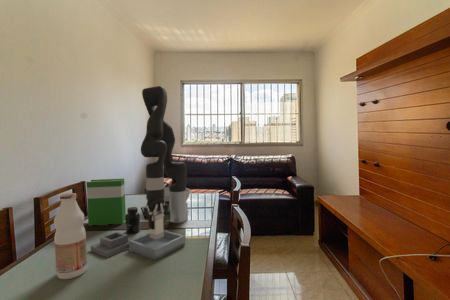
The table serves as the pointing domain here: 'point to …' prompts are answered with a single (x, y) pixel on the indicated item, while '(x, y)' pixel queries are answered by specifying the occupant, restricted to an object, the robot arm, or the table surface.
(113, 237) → the grey stepped block piece
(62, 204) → the fruit juice
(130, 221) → the supplement bottle
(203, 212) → the table surface
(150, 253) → the parts tray
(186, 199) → the decorative bowl
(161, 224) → the block
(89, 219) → the green cereal box
